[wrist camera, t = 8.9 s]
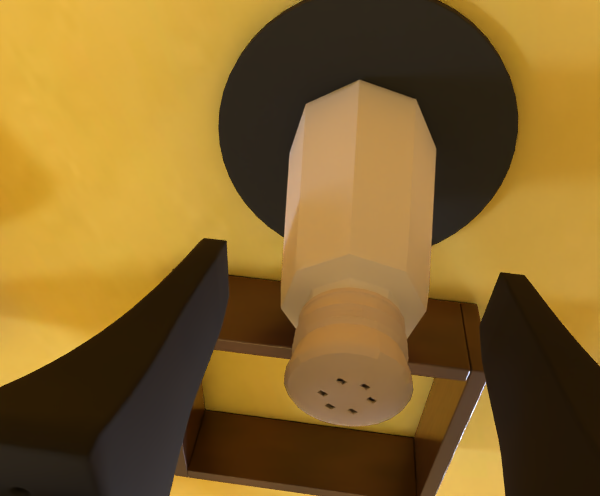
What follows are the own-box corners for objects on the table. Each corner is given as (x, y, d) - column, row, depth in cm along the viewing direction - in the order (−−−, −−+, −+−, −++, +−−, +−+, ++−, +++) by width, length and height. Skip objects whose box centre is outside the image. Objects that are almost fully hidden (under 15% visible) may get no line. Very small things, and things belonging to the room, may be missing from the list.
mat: (578, 37, 17) (583, 42, 17) (443, 277, 24) (444, 285, 24) (244, -57, 16) (241, -54, 16) (206, 217, 23) (203, 224, 23)
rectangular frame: (477, 303, 25) (491, 373, 22) (424, 446, 33) (428, 511, 30) (172, 268, 26) (144, 329, 23) (193, 415, 34) (174, 475, 31)
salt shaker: (363, 230, 22) (353, 485, 14) (261, 151, 20) (177, 389, 12) (467, 145, 19) (535, 404, 11) (358, 44, 17) (337, 260, 9)
